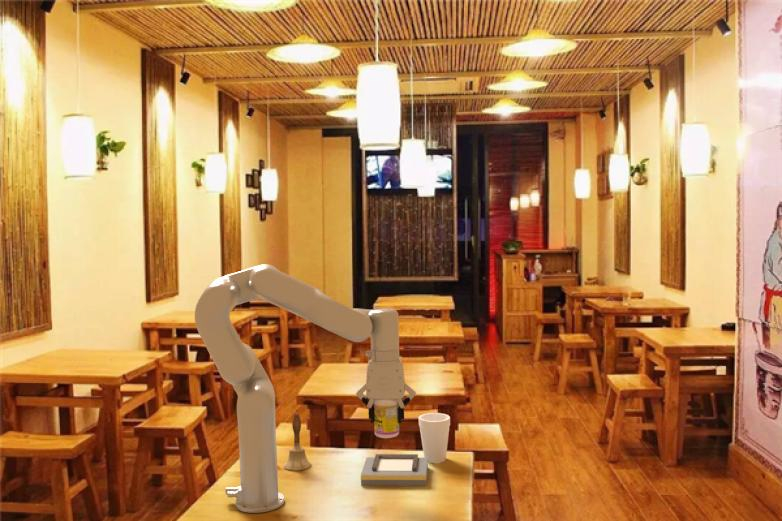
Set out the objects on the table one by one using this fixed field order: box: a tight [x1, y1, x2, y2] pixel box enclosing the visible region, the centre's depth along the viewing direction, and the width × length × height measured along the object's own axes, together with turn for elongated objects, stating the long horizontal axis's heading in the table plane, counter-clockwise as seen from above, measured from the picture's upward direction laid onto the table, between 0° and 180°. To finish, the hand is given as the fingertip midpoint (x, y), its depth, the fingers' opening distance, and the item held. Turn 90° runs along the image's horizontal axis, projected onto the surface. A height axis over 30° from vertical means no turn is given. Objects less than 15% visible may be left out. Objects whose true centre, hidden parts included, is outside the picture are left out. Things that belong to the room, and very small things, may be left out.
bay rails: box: [372, 453, 419, 471], centre depth 208 cm, size 12×11×1 cm
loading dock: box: [360, 456, 429, 487], centre depth 206 cm, size 18×14×3 cm
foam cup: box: [418, 412, 451, 464], centre depth 219 cm, size 10×9×13 cm
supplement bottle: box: [373, 399, 400, 439], centre depth 193 cm, size 7×7×13 cm
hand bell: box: [283, 412, 312, 472], centre depth 216 cm, size 8×8×16 cm
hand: (386, 421), depth 193 cm, fingers closed on supplement bottle, 6 cm apart
